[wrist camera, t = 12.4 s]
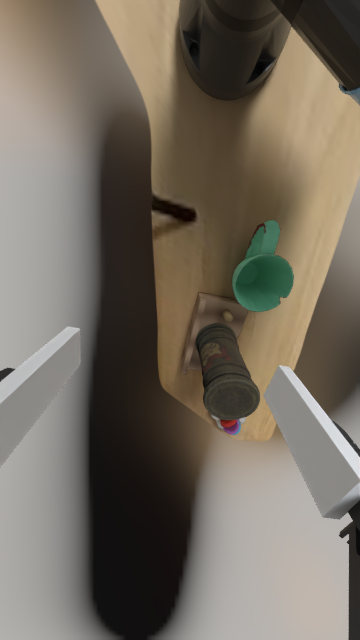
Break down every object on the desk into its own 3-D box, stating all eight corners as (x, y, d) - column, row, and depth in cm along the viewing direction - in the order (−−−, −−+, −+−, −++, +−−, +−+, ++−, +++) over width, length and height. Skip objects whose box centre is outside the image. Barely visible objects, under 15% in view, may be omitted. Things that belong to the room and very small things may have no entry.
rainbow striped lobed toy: (234, 393, 56) (241, 415, 49) (245, 415, 59) (253, 437, 53) (207, 402, 58) (210, 425, 51) (219, 423, 61) (223, 446, 55)
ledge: (198, 292, 44) (200, 300, 38) (245, 301, 44) (254, 311, 39) (181, 360, 51) (181, 375, 46) (221, 367, 52) (226, 383, 47)
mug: (264, 295, 44) (285, 312, 35) (220, 294, 44) (230, 311, 35) (279, 222, 38) (310, 220, 28) (228, 221, 38) (243, 218, 29)
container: (241, 329, 44) (275, 387, 27) (225, 360, 47) (246, 428, 31) (204, 317, 43) (216, 370, 26) (190, 349, 46) (193, 414, 30)
